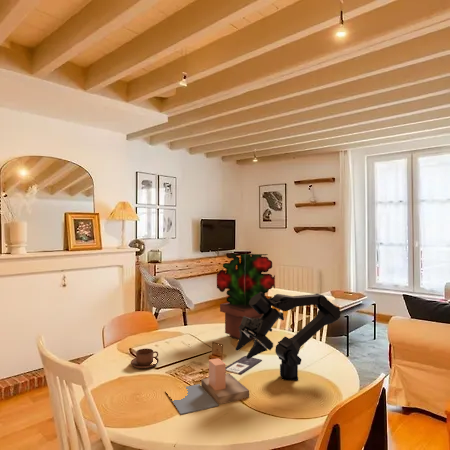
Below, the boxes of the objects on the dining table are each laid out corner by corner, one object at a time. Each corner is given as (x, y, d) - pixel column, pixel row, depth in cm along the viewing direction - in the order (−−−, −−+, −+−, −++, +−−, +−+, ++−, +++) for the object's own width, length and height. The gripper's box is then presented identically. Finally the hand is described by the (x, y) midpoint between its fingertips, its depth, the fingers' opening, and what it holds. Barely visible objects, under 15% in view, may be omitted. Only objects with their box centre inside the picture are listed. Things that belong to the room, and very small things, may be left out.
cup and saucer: (146, 358, 173) (146, 344, 172) (164, 364, 165) (164, 350, 165) (125, 366, 163) (124, 352, 163) (142, 373, 156) (142, 358, 156)
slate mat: (199, 384, 144) (199, 383, 144) (218, 406, 128) (218, 404, 128) (165, 391, 138) (165, 390, 138) (180, 414, 122) (180, 413, 122)
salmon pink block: (218, 381, 141) (218, 358, 141) (225, 388, 136) (225, 363, 135) (208, 383, 139) (208, 359, 139) (215, 390, 134) (215, 365, 134)
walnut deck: (229, 380, 149) (229, 373, 149) (249, 397, 134) (249, 390, 134) (201, 385, 143) (201, 379, 143) (218, 404, 129) (218, 397, 129)
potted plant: (246, 328, 218) (246, 251, 217) (274, 338, 201) (274, 254, 200) (216, 336, 204) (216, 253, 203) (244, 347, 187) (244, 257, 186)
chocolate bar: (262, 359, 169) (241, 373, 154) (262, 361, 169) (241, 375, 154) (244, 355, 174) (223, 368, 159) (244, 357, 174) (223, 370, 159)
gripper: (242, 303, 153) (218, 334, 149) (265, 314, 136) (238, 349, 131) (259, 320, 156) (236, 351, 152) (284, 333, 139) (258, 367, 135)
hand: (241, 354), depth 142 cm, fingers open, 9 cm apart
